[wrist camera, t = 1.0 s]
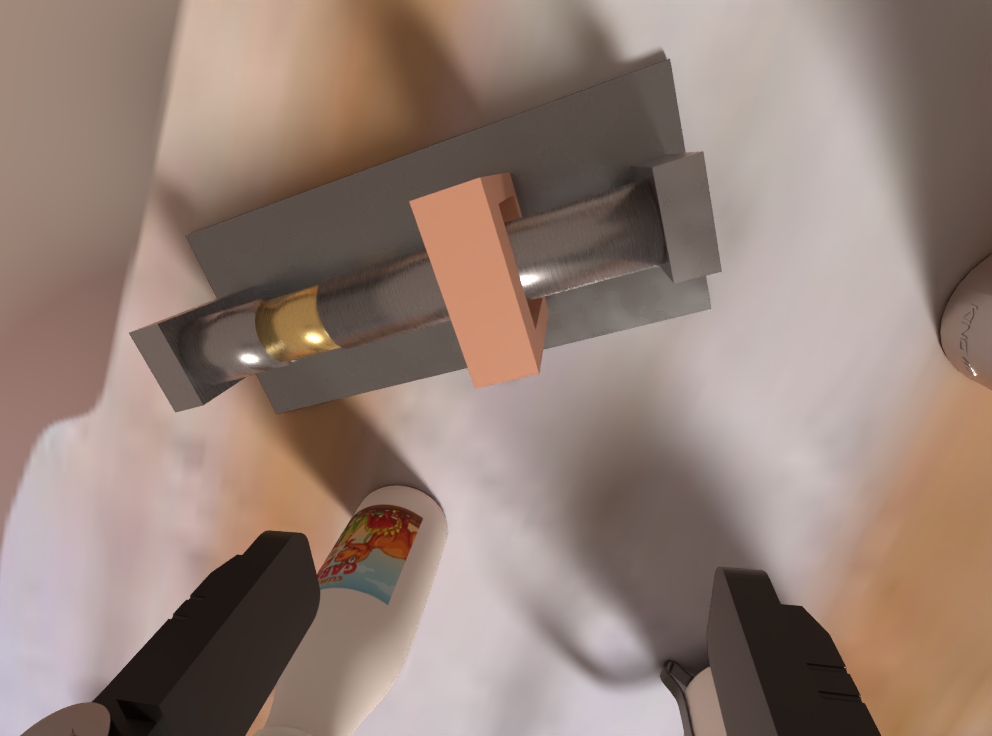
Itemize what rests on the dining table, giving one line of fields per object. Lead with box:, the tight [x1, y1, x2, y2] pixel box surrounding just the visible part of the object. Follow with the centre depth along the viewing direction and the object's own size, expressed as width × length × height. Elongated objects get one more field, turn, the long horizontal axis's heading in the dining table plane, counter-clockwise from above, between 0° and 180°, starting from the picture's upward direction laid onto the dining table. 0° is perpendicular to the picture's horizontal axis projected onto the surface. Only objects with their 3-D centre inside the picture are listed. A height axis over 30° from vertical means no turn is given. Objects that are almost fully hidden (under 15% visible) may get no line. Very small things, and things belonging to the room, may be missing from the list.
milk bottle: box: [254, 485, 448, 736], centre depth 32 cm, size 8×8×20 cm
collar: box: [409, 172, 549, 388], centre depth 25 cm, size 3×8×10 cm, turn 18°
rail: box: [129, 59, 722, 414], centre depth 28 cm, size 32×14×9 cm, turn 108°
